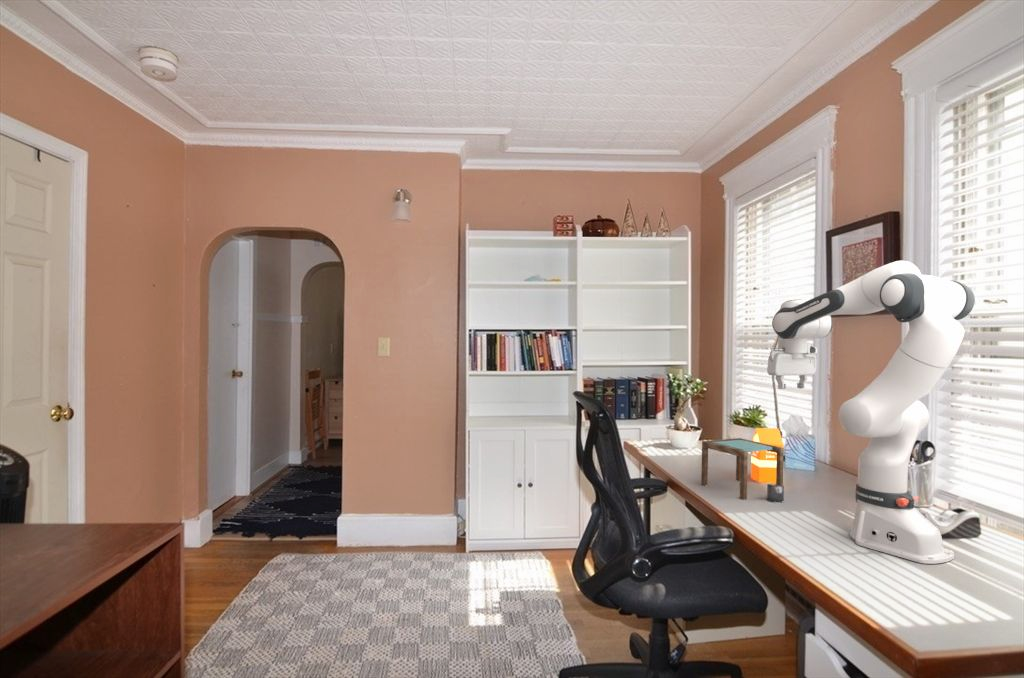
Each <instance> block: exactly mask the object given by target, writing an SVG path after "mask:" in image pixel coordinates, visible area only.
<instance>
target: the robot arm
mask: <svg viewBox="0 0 1024 678" xmlns="http://www.w3.org/2000/svg"><path fill="white" fill-rule="evenodd" d="M975 297H976V296H975V293H974V292H973V290H972V289H971V288H970V287H969V286H967V285H966V284H964V283H962V282H960V281H956V280H953V279H946V278H941V277H938V276H936V275H931V274H930V275H929V274H922V273H921V271H920V269H919V268H918V267H917V266H916V265H915V264H914V263H912V262H911V261H908V260H896V261H893V262H889V263H887V264H884V265H882V266H879V267H877V268H874V269H872V270H871V271H869V272H868V271H867V272H866V273H864V274H862V275H861V276H859V277H858V278H856V279H853V280H851V281H850V282H849V281H848V282H847V283H845V284H843V285H841V286H838V287H837V288H835V289H832V290H830V291H828V292H827V291H826V292H825V293H822V294H819V295H817V296H815V297H812V298H810V299H809V300H807V301H806V300H803V299H791V300H789V299H788V300H786V301H784V302H782V303H781V305H780V307H779V308H780V309H779V310H778V311H777V312H776V313H775V314H774V315H773V317H772V322H771V324H772V328H773V331H774V333H775V334H776V335H777V336H778V338H777V347H774V348H772V349H771V351H770V353H769V356H768V361H767V368H766V371H767V374H768V375H769V376H774V377H775V380H776V382H777V388H778V389H779V390H785V389H786V388H787V387H786V386H787V384H786V383H784V379H785V377H786V376H798V378H799V381H798V382H797V383H796V388H797V389H802V390H803V389H805V386H806V385H805V384H806V382H807V380H808V376H815V374H816V373H817V367H818V366H817V364H818V363H817V359H818V358H817V355H816V354H817V353H818V348H817V347H816V346H814V345H812V344H811V343H809V342H808V339H809V340H810V339H813V340H814V339H817V340H818V339H821V338H822V339H824V338H826V337H828V335H830V333H831V331H832V329H833V325H834V323H833V318H832V316H836V315H869V314H873V313H877V312H880V311H885V310H886V311H887V312H888V313H890V314H891V315H892V316H894V318H895V319H896V321H898V322H899V323H908V327H909V328H908V332H907V334H906V335H905V337H904V339H903V340H902V342H901V343H900V345H899V346H898V348H897V349H896V351H895V352H894V354H893V355H892V357H891V358H890V360H889V362H888V363H887V365H886V366H885V368H883V370H882V371H881V372H880V374H879V375H877V377H875V379H873V380H872V382H870V383H869V384H868V385H867V386H866V387H865V388H864V389H862V391H860V392H859V393H857V394H856V395H855V396H853V397H852V398H850V399H848V400H846V401H844V402H843V403H842V404H841V405H840V408H839V410H838V420H839V424H840V426H841V427H842V428H843V430H845V432H847V433H848V434H850V435H852V436H856V437H861V438H868V439H869V441H868V444H867V446H866V447H865V449H864V450H862V452H860V454H859V456H858V461H857V463H858V465H857V483H856V484H855V502H856V503H855V504H856V507H855V512H854V513H855V514H854V519H853V523H852V527H851V529H850V532H849V536H850V538H852V539H853V540H854V539H855V540H854V542H855V544H856V545H858V546H861V547H863V548H869V549H871V550H874V551H878V552H882V553H885V554H887V555H892V556H894V557H899V558H902V559H905V560H909V561H913V562H916V563H919V564H924V565H926V564H929V565H934V564H942V563H946V562H950V561H952V560H953V559H954V558H955V554H954V551H953V550H951V549H948V548H946V547H944V544H943V538H942V534H941V531H940V529H939V528H938V527H937V526H935V524H934V523H932V522H931V521H930V520H929V519H927V518H926V516H924V515H923V514H922V513H921V512H920V511H919V510H917V508H916V507H915V502H919V500H918V499H919V496H915V497H913V496H912V495H911V494H910V492H909V490H908V480H909V479H908V478H909V464H910V463H909V462H910V458H911V454H912V452H913V450H914V447H915V444H916V442H917V439H918V437H919V435H920V434H921V433H922V431H923V430H925V428H926V427H927V426H928V424H929V421H930V413H929V410H928V408H927V407H926V405H925V404H924V403H923V402H922V401H921V400H920V399H922V398H924V397H926V396H927V395H929V394H930V393H932V391H933V390H934V388H935V386H936V385H937V384H938V383H939V381H940V379H941V378H942V377H943V375H944V374H945V372H946V370H947V369H948V368H949V367H950V364H952V362H953V361H954V358H955V357H956V355H957V353H958V352H959V349H960V346H961V345H962V342H963V339H964V338H965V337H964V336H965V333H966V332H965V328H964V327H963V325H962V324H961V322H960V321H959V320H962V319H964V318H965V317H967V316H968V315H969V314H970V313H971V312H972V311H973V309H974V306H975V302H976V298H975Z"/></svg>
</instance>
